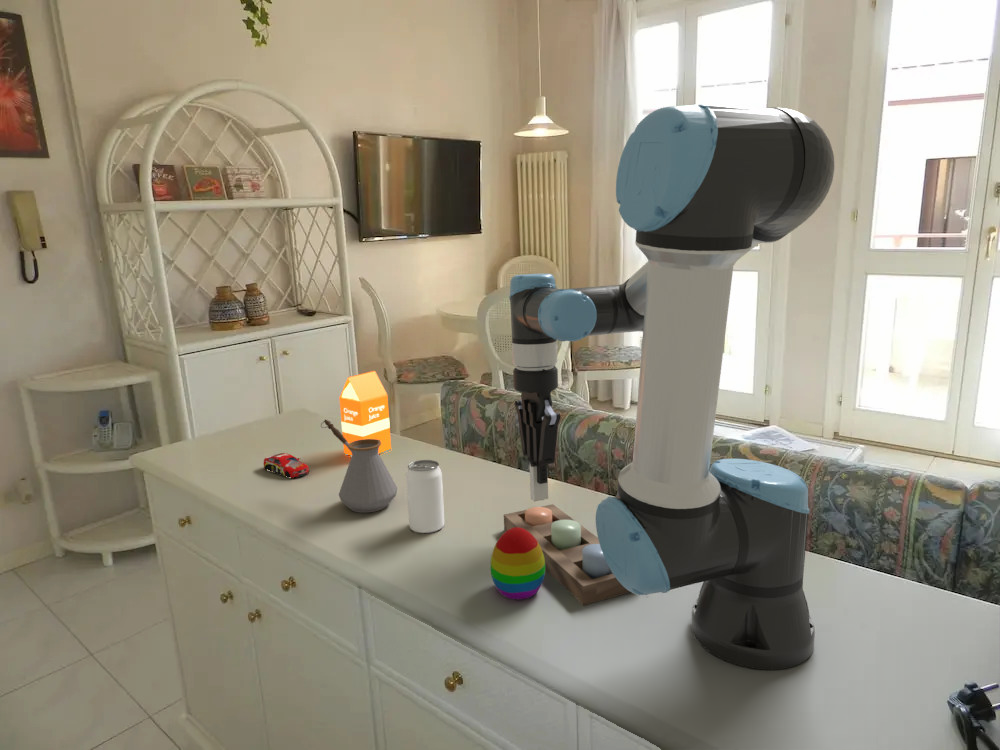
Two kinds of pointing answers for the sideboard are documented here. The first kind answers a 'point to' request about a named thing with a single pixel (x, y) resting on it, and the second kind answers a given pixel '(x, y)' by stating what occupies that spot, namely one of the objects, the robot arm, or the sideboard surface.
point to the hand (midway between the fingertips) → (539, 498)
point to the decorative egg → (517, 564)
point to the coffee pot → (365, 476)
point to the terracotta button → (538, 516)
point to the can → (425, 496)
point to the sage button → (565, 534)
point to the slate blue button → (594, 561)
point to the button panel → (568, 559)
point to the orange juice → (365, 411)
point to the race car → (286, 465)
